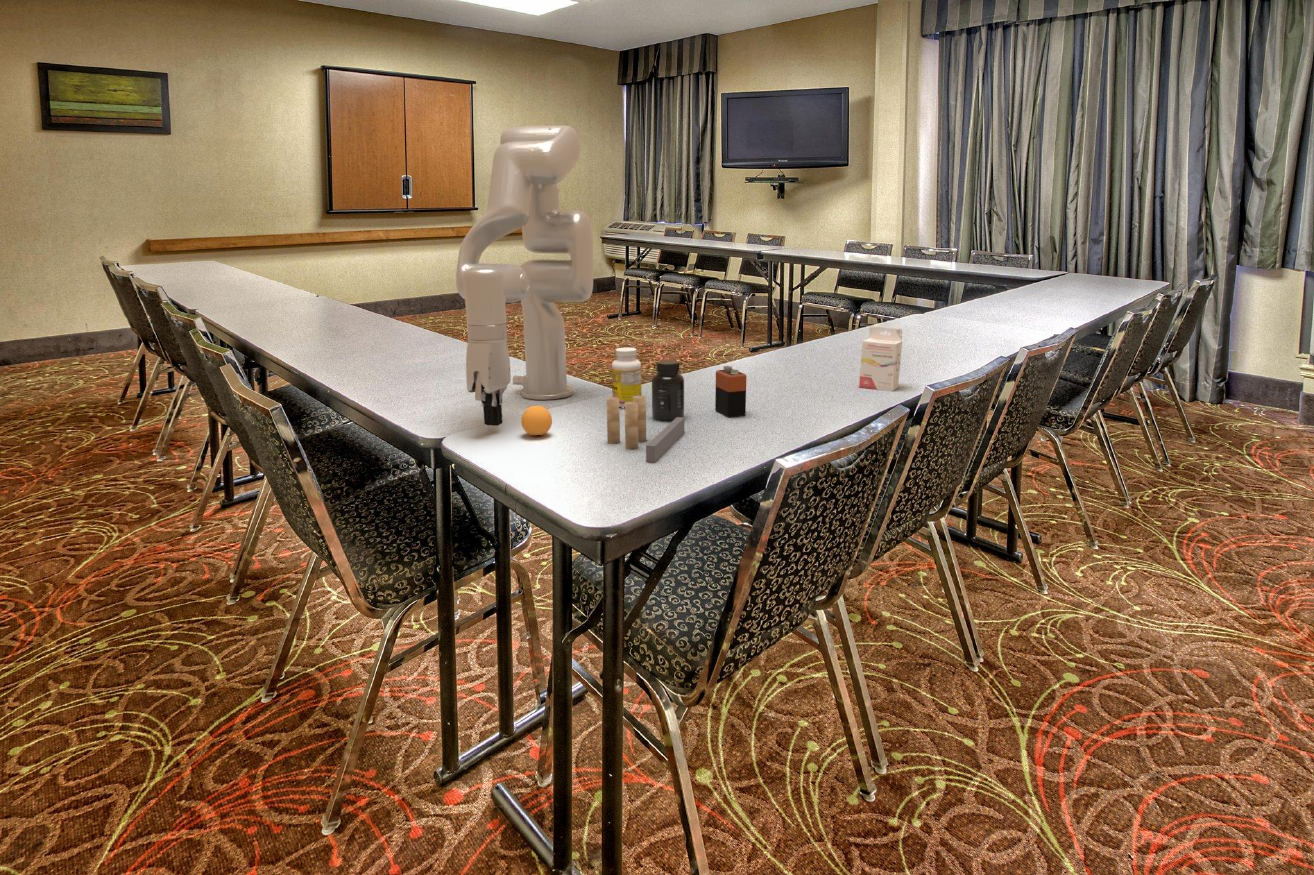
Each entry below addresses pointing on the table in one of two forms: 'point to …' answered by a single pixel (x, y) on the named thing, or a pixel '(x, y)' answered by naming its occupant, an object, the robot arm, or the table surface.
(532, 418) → the ball
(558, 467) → the table surface
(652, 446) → the back wall
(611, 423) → the wooden block
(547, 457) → the table surface
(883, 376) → the ink cartridge box
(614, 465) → the table surface
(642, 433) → the pin
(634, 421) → the pin
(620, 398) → the supplement bottle
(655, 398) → the supplement bottle
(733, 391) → the battery
